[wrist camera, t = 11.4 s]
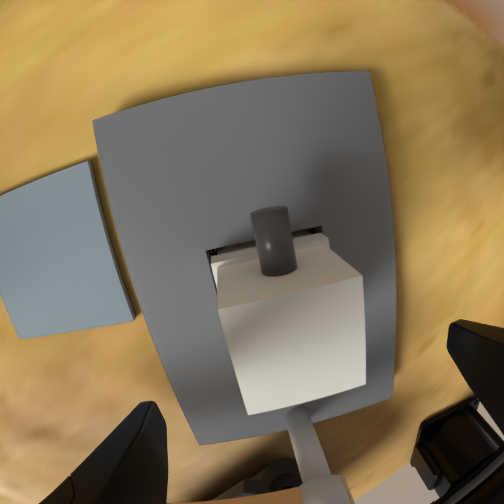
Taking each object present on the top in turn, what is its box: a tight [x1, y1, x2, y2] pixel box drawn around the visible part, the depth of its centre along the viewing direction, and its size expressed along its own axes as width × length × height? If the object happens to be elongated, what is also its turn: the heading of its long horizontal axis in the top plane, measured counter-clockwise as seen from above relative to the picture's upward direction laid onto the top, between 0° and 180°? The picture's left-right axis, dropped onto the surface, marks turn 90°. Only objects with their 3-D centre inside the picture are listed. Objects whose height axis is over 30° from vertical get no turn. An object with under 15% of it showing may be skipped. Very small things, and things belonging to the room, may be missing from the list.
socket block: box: [92, 70, 396, 483], centre depth 12 cm, size 12×18×6 cm, turn 11°
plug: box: [211, 206, 366, 415], centre depth 12 cm, size 5×6×6 cm
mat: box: [0, 161, 136, 339], centre depth 14 cm, size 8×8×1 cm
